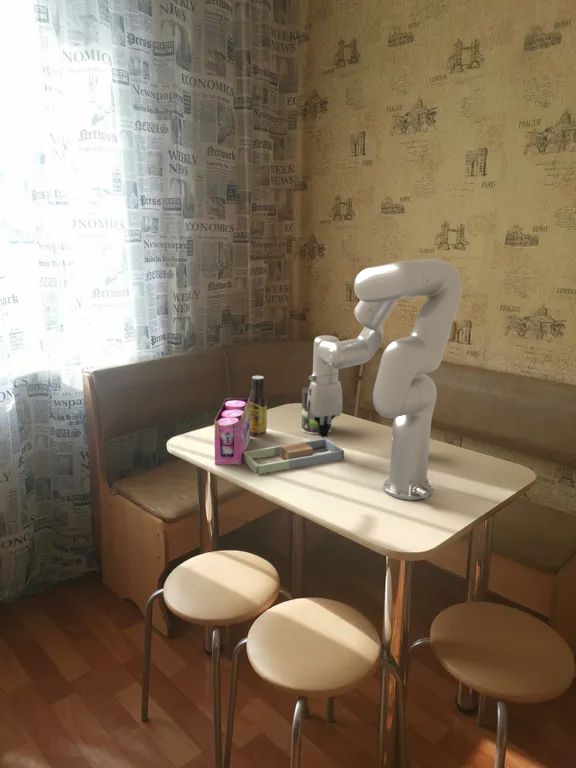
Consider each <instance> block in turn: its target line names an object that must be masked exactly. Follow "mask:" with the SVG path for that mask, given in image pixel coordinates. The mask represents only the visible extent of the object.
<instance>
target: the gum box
mask: <svg viewBox="0 0 576 768" xmlns="http://www.w3.org/2000/svg"><path fill="white" fill-rule="evenodd" d="M213 421H214V464H215V465H224V464H242V462H243V458H242V452H246V451H247V448H248V445H249V442H250V440H251V435H250V420H249V398H235V397H234V398H231V397H229V398H228V397H227V398H225V399H224V402H223V403H222V406H221V408H220V409H219V412H218V413H217V415H216V416H215V419H214V420H213ZM241 461H242V462H241Z"/></svg>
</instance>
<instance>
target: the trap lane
mask: <svg viewBox="0 0 576 768" xmlns="http://www.w3.org/2000/svg"><path fill="white" fill-rule="evenodd" d="M304 442H305V443H306V444H308V445H309V446H310V447H312V448H313V455H312V456H306V457H300V458H295V459H289V460H279V461H273V462H268V463H262V464H258V463H257V462H256V461H255V460H254V459H253V458H257V459H260V458H259V457H263V458H266V456H268V457H272V456H280V446H282V445H283V444H282V445H276V446H270V447H264V448H258V449H253V450H246V451H245V452H242V458H243V459H242V461H243V460H244V461H245V462H246V463H247V464H248V465H249V466H250V467H251V468H252V469H253V470H252V469H251V468H250V467H249V466H248V465H247V464H246V463H245V462H244V461H243V462H244V463H245V464H246V465H247V466H248V467H249V468H250V469H251V470H252V471H253V473H254V474H255V473H256V474H259V475H261V474H260V473H264V474H266V473H265V472H269V473H274V472H273V471H275V472H279V471H278V470H280V471H284V470H283V469H285V470H290V468H291V469H295V468H296V469H297V468H301V467H306V466H311V465H317V464H321V463H327V462H334V461H339V460H343V459H344V458H345V450H343V449H342V448H341V447H339V446H338V445H336V444H335V443H334V442H332V441H331V440H329V439H328V438H327V437H322V438H318V439H312V440H305V441H304ZM288 444H289V443H288ZM288 444H286V445H288ZM327 451H328V452H327ZM322 452H324V453H322ZM316 453H317V454H316ZM256 474H255V475H256Z"/></svg>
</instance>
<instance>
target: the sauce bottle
mask: <svg viewBox="0 0 576 768" xmlns="http://www.w3.org/2000/svg"><path fill="white" fill-rule="evenodd" d="M251 382H252V383H251V387H252V388H251V391H250V394H249V397H248V399H249V420H250V437H256V438H257V437H263V436H265V435H266V434H267V426H268V425H267V424H268V423H267V422H268V421H267V420H268V418H267V417H268V414H267V413H268V405H267V403H268V397H267V394H266V392H265V391H264V386H265V385H264V382H265V376H263V375H253V376H252V377H251Z"/></svg>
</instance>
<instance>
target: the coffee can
mask: <svg viewBox="0 0 576 768" xmlns="http://www.w3.org/2000/svg"><path fill="white" fill-rule="evenodd" d="M309 387H310V385H309V386H306V387H303V388H301V394H302V395H301V431H302V432H303V433H305V434H308V435H319V434H318V422H316V421H315V420H309V419H308V418H307V415H308V412H307V399H308V391H309ZM323 418H324V417H323ZM330 432H332V422H331V423H330V424H329V432H328V434H329V433H330ZM319 436H320V435H319Z"/></svg>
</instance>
